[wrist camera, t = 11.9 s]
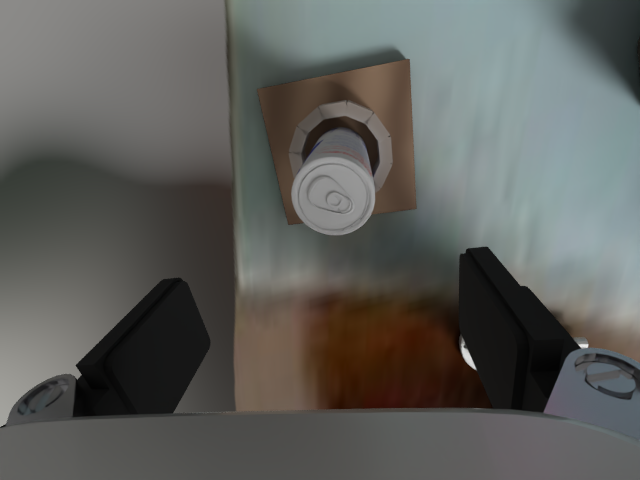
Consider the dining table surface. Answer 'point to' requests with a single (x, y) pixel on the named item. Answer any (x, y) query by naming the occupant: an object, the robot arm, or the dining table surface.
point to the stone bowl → (639, 53)
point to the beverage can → (335, 184)
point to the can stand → (350, 112)
